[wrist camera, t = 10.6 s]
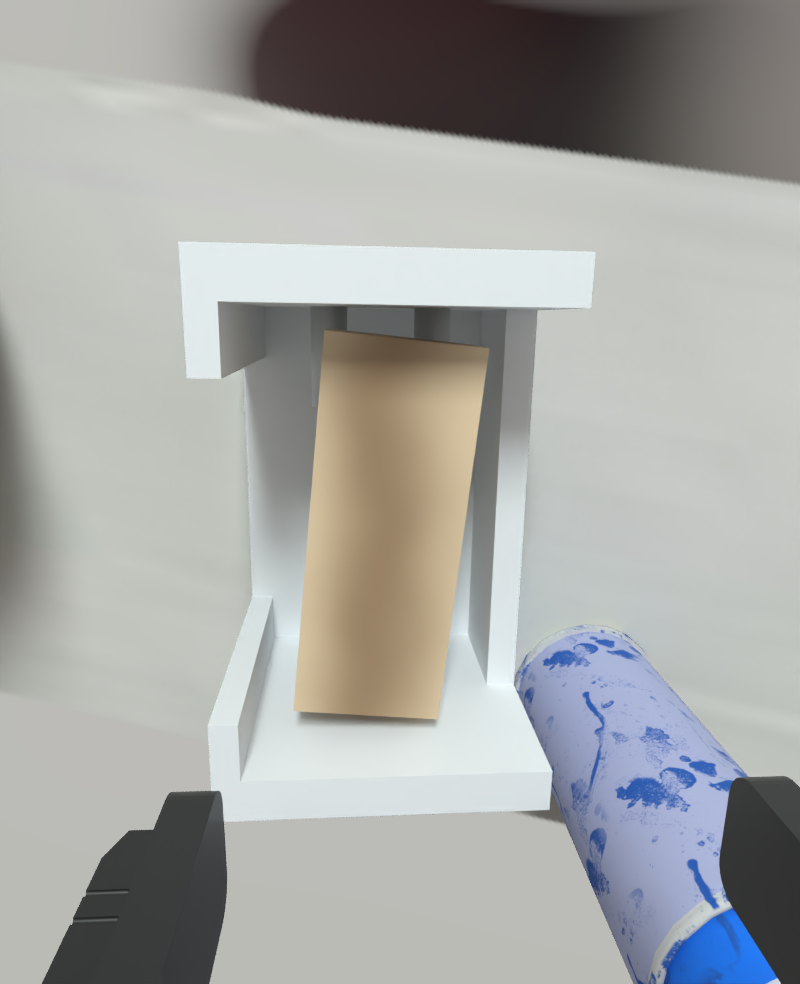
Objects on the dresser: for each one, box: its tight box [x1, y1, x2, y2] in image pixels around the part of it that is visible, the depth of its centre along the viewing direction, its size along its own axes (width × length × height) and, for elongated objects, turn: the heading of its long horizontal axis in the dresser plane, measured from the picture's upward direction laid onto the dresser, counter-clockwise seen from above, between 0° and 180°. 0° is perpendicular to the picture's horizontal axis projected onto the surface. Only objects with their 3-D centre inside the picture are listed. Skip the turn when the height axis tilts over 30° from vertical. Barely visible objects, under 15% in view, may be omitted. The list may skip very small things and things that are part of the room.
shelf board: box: [293, 328, 489, 719], centre depth 26 cm, size 6×14×4 cm, turn 174°
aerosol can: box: [514, 625, 781, 984], centre depth 28 cm, size 8×8×20 cm
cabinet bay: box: [178, 242, 595, 822], centre depth 28 cm, size 12×19×12 cm, turn 179°
